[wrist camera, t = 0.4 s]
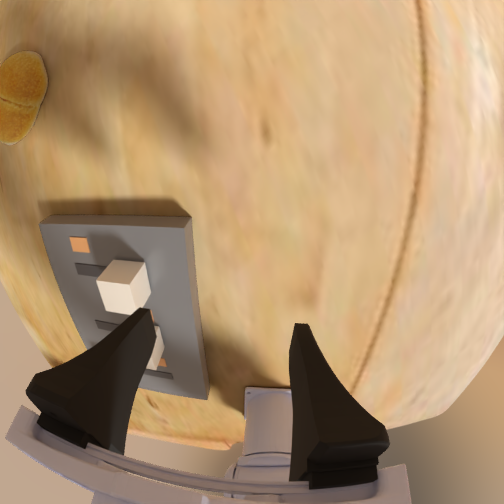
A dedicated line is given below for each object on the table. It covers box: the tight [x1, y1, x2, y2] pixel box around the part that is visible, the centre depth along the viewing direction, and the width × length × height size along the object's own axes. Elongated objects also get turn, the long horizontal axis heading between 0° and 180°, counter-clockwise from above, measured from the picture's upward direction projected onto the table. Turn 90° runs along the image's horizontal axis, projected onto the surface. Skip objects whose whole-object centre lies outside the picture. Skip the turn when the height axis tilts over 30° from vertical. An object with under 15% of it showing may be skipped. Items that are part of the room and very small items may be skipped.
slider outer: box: [96, 260, 151, 315], centre depth 20 cm, size 3×3×3 cm
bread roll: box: [0, 51, 48, 145], centre depth 14 cm, size 8×9×4 cm
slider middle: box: [146, 326, 165, 370], centre depth 24 cm, size 3×3×3 cm
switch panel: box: [39, 215, 210, 400], centre depth 26 cm, size 23×15×2 cm, turn 178°
